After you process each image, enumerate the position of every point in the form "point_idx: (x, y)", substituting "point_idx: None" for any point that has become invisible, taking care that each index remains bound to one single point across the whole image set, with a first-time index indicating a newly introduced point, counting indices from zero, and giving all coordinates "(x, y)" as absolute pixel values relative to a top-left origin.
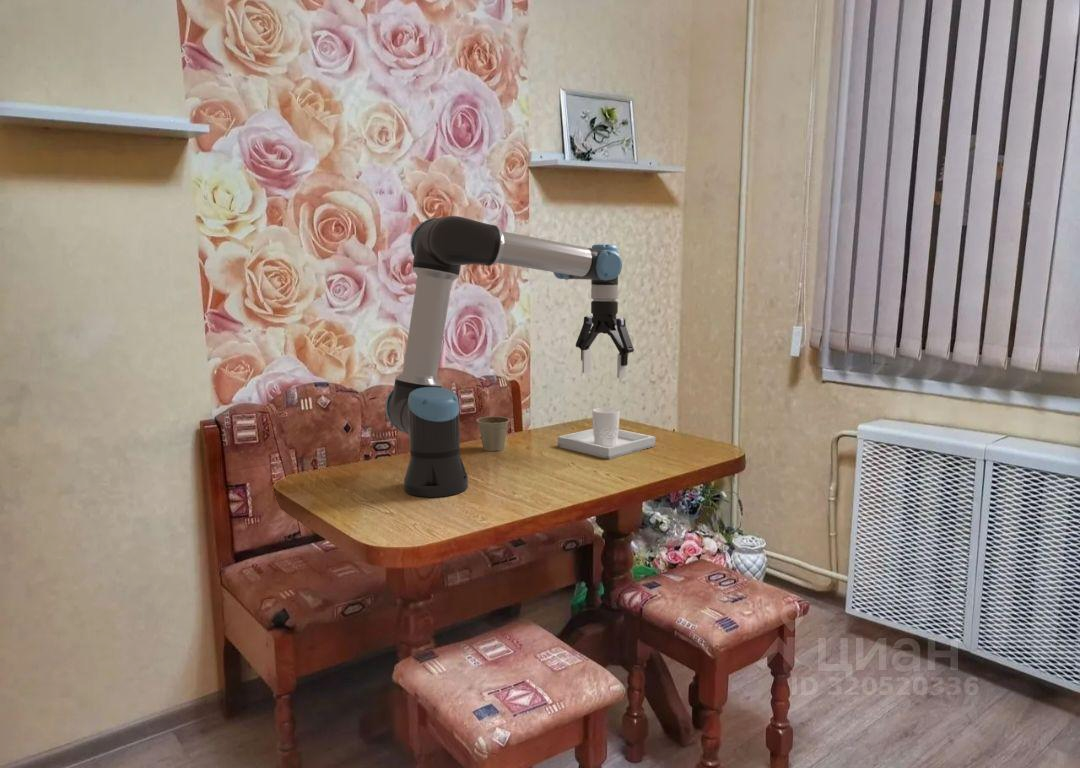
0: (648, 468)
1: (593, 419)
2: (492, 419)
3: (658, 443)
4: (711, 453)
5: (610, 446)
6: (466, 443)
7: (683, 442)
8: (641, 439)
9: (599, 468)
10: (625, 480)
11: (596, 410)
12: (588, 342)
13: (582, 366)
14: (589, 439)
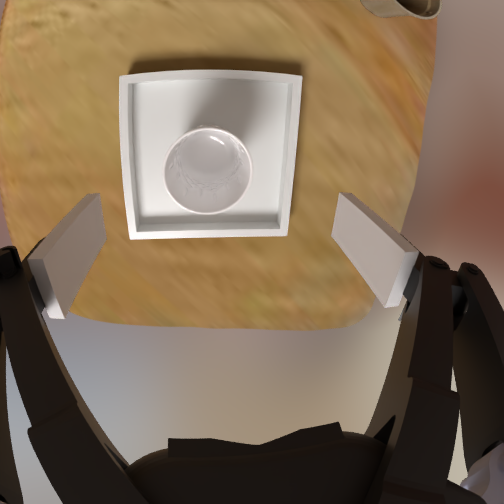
0: (37, 100)
1: (227, 130)
2: (431, 13)
3: (152, 254)
4: None
5: None
6: None
7: (130, 290)
8: (129, 198)
9: (98, 22)
10: (26, 24)
11: (249, 169)
12: (413, 311)
13: (364, 204)
14: (268, 159)
